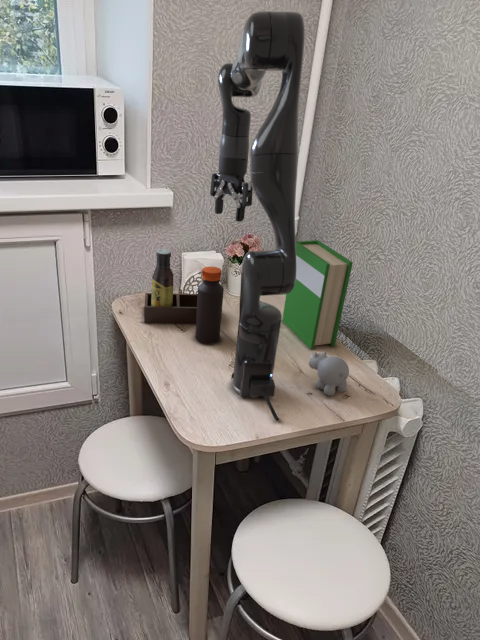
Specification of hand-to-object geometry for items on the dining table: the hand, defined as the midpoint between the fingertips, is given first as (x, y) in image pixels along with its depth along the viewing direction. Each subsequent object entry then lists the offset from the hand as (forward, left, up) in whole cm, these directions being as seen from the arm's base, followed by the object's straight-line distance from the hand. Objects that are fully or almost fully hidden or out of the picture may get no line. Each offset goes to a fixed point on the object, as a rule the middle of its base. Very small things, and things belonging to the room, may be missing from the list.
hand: (228, 217), depth 144 cm
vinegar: (-18, +6, -29) cm, 34 cm away
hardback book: (-13, -24, -29) cm, 39 cm away
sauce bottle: (-4, +18, -29) cm, 34 cm away
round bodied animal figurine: (-40, -21, -29) cm, 54 cm away
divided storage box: (-4, +14, -28) cm, 32 cm away
